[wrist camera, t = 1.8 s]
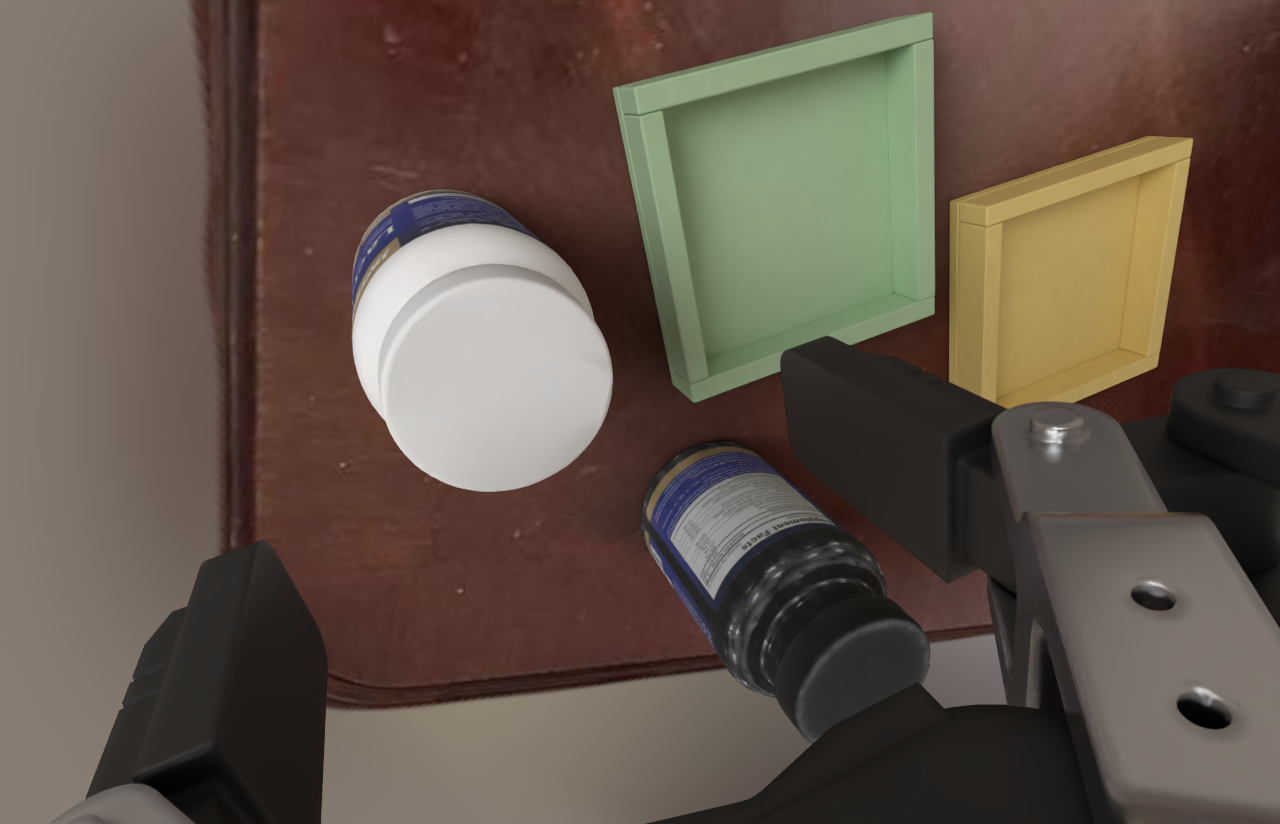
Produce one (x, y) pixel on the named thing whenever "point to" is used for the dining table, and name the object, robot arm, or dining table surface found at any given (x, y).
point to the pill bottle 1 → (476, 343)
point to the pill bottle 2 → (779, 587)
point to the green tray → (786, 197)
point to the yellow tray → (1066, 274)
